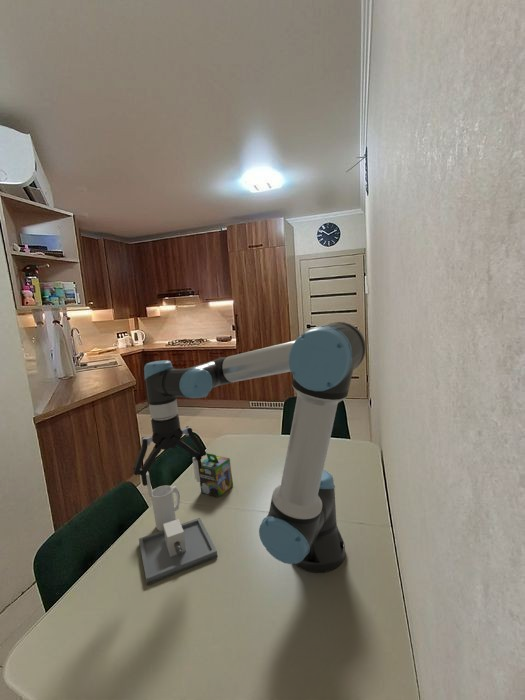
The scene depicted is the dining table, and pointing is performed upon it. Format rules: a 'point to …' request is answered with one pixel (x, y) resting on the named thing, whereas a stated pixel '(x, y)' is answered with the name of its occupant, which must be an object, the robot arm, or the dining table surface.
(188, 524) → the tray
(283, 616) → the dining table surface
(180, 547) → the connector
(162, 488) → the mug
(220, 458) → the chalk box
